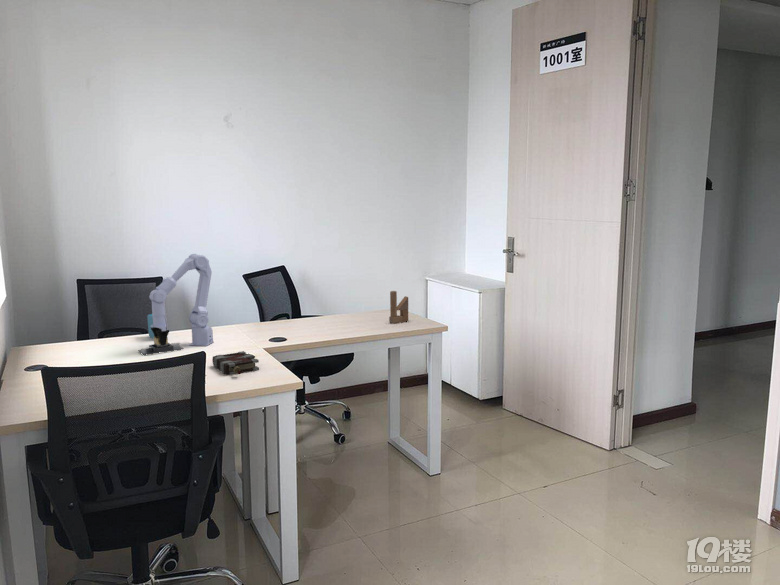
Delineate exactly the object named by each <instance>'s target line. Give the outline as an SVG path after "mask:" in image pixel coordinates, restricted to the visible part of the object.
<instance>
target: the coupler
mask: <svg viewBox="0 0 780 585" xmlns="http://www.w3.org/2000/svg"><path fill="white" fill-rule="evenodd" d="M168 341H169V339H168V337H167V340H166V345H161V344H160V340H159V336H155V337H154V339H153V344H154V347H155V348H160V347H166V346H168V343H169V342H168Z"/></svg>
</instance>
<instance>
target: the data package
mask: <svg viewBox="0 0 780 585" xmlns="http://www.w3.org/2000/svg"><path fill="white" fill-rule="evenodd" d="M146 318H147V328H148V336H150V337H151V339H152V340H154V337H155V336H154V333H153V331H152V330H151V328H153V327H151V325H153V315H152V313H151V314H147V316H146ZM150 337H149V338H150Z"/></svg>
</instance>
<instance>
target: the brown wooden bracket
mask: <svg viewBox="0 0 780 585" xmlns="http://www.w3.org/2000/svg"><path fill="white" fill-rule="evenodd" d="M389 292H390V293H389V298H390V300H389V301H390V304H389V306H390V309H389V310H390V316H389V318H388V320H389V322H390V324H392V323H394V324H399V322H401V323H407V322H406V321H408V322H409V296H404V297H403V298H401V301H400V302H399V303H398V302H397V299H398V297H397V296H398V295H397V293H398V291H396V290H391V291H389ZM398 311H399V315H398Z"/></svg>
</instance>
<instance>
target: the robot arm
mask: <svg viewBox="0 0 780 585" xmlns="http://www.w3.org/2000/svg"><path fill="white" fill-rule="evenodd" d="M192 270H195V271H197V273H198V274H199V278H198V283H197V291H196V296H195V302H194V303H195V304H194V306H193V307H192V309H191V312H190V314H189V316H188V321H189V322H190V323H191V326H190V327H191V339H192V340H191V343H189V344H188V346H197V347H201V346H203V347H207V346H209V345H212V344H213V343H215V342H214V334H213V328H212V326H208V323H209V315H208V313H209V312H208V310H207V303H208V298H209V291H210V285H211V280H212V268H211V266H210V260H209V259H208V258H207V257H206V256H205V255H203V254H197V253H192V254H190V255H189V256H188V257H187V258H185V259H184V261H183V263H182V264H181V265H180V266H179V267H178V268H177V269H176V271H175V272H174V273H173V274H172V275H171V276H170V277H169V276H168V277H166V278H163V279H162V282H160V284H159V285H158V286H156V287H155V289H153V290H151V292H149V296H148V298H149V300H150V301H151V312H152V313H151V314H152V315H153V325H151V327H153V328H151V330H152V331H153V333H154V336H159V340H160V344H161V345H166V340H167V338H168V337H169V336H168V335H169V333H170V330H169V329H167V318H166V305H165V301H166V299H167V296H168V295H169V294H170V293H171V292H172V291H173V290H174V289H175V288H176V287H177V281H179V280H180V279H181V278H182V277H184V275H186V273H188V272H189V271H192Z"/></svg>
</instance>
